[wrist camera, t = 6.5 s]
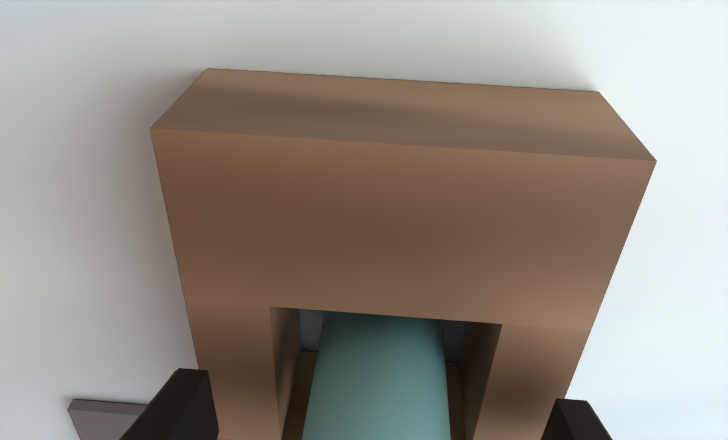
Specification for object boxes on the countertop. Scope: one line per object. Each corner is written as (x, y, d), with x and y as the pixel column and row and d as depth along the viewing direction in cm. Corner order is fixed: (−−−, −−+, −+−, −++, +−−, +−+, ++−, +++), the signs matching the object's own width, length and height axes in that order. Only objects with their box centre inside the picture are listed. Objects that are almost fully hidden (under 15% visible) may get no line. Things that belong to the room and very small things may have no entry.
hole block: (494, 443, 17) (509, 540, 15) (253, 423, 18) (228, 515, 15) (599, 92, 11) (657, 161, 8) (207, 68, 11) (149, 128, 9)
